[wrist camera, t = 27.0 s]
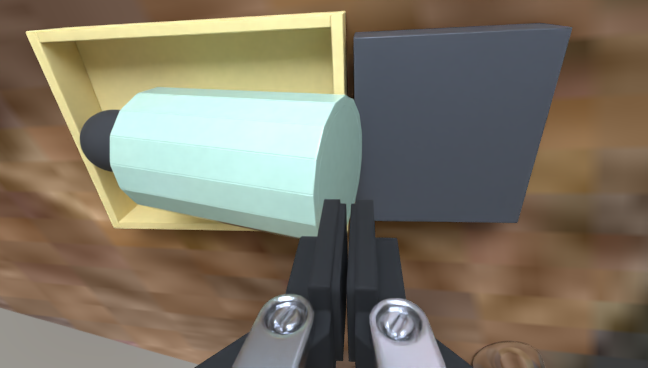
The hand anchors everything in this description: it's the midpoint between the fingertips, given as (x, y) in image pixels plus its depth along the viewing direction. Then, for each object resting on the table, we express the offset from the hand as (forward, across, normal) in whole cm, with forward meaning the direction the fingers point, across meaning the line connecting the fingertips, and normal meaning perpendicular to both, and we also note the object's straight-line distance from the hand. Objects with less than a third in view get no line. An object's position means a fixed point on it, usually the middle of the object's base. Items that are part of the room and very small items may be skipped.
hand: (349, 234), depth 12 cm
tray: (+12, +9, 0) cm, 15 cm away
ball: (+9, +15, 0) cm, 18 cm away
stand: (+12, -5, 0) cm, 13 cm away
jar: (+5, 0, 0) cm, 5 cm away
